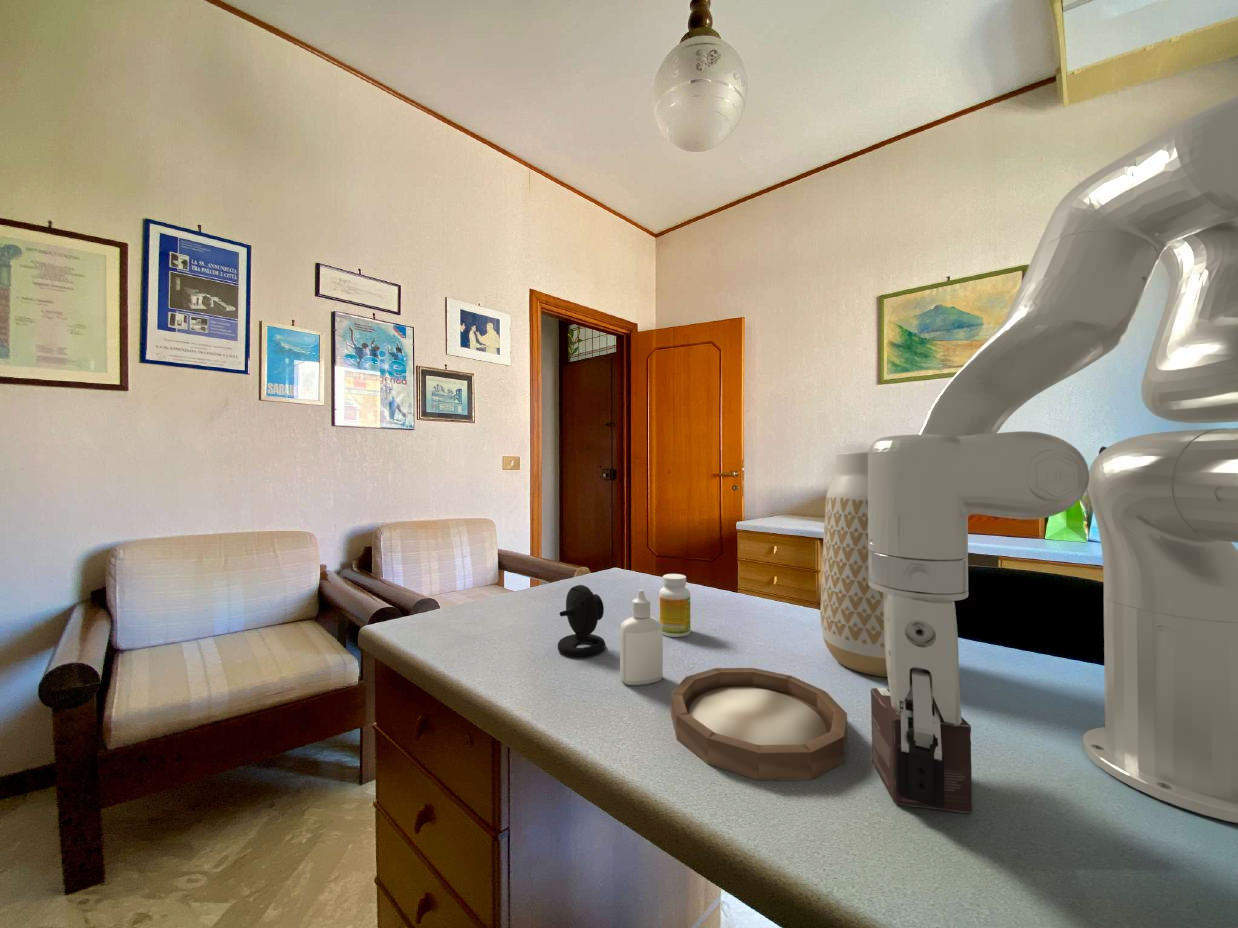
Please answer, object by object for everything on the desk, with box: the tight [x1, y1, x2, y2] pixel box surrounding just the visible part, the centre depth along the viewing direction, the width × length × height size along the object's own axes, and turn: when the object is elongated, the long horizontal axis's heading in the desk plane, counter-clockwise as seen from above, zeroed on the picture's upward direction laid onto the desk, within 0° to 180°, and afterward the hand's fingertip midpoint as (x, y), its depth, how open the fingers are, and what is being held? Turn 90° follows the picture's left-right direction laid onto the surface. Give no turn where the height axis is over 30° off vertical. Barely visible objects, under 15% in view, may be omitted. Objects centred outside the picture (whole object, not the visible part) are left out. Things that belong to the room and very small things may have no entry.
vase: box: [819, 451, 888, 678], centre depth 68 cm, size 14×14×31 cm
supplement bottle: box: [658, 573, 691, 638], centre depth 81 cm, size 5×5×10 cm
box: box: [870, 687, 973, 814], centre depth 42 cm, size 6×6×7 cm
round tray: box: [670, 667, 848, 781], centre depth 52 cm, size 18×18×2 cm
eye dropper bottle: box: [619, 589, 664, 686], centre depth 63 cm, size 4×6×12 cm
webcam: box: [557, 584, 606, 659], centre depth 74 cm, size 8×8×10 cm
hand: (917, 770), depth 42 cm, fingers closed on box, 7 cm apart
